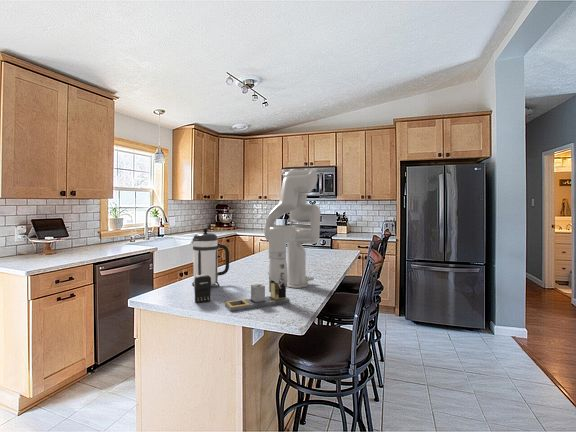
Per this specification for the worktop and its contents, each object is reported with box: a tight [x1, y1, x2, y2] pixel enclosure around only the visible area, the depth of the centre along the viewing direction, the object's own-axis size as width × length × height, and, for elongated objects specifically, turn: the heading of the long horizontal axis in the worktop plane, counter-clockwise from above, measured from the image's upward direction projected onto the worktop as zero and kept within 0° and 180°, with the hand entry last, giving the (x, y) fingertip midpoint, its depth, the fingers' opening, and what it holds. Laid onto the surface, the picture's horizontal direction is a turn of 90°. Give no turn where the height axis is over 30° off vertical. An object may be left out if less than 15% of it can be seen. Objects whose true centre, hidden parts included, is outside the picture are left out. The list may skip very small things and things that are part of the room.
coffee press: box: [189, 227, 230, 288], centre depth 166 cm, size 17×16×30 cm
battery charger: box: [193, 275, 212, 303], centre depth 139 cm, size 7×4×11 cm, turn 117°
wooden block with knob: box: [270, 282, 284, 301], centre depth 139 cm, size 4×4×8 cm
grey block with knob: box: [250, 283, 266, 303], centre depth 135 cm, size 4×4×8 cm
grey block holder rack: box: [224, 295, 291, 312], centre depth 135 cm, size 26×8×2 cm, turn 116°
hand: (277, 294), depth 139 cm, fingers open, 9 cm apart
